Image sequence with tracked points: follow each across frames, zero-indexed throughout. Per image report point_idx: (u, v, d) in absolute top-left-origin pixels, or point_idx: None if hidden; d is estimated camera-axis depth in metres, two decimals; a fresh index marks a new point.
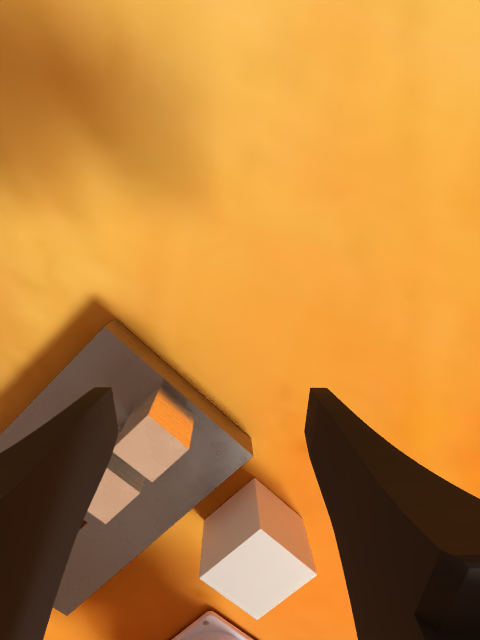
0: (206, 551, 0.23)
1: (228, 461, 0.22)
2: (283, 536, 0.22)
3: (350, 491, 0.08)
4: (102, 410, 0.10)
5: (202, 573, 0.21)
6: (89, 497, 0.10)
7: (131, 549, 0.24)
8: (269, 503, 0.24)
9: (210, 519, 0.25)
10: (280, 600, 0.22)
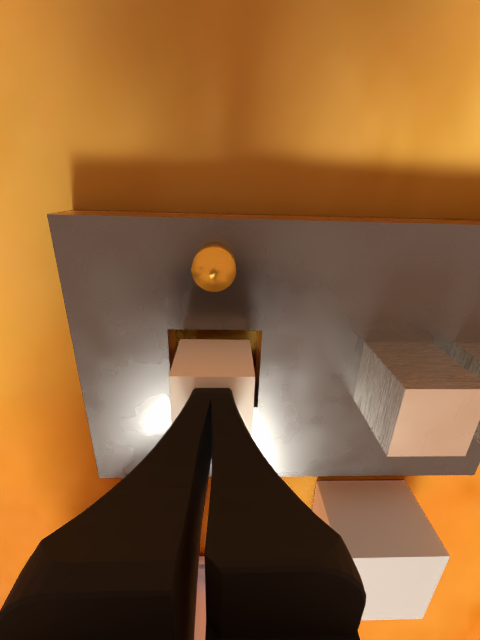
0: (341, 527, 0.17)
1: (452, 462, 0.17)
2: None
3: None
4: (210, 410, 0.11)
5: None
6: (204, 496, 0.10)
7: None
8: None
9: (331, 487, 0.20)
10: (366, 618, 0.18)
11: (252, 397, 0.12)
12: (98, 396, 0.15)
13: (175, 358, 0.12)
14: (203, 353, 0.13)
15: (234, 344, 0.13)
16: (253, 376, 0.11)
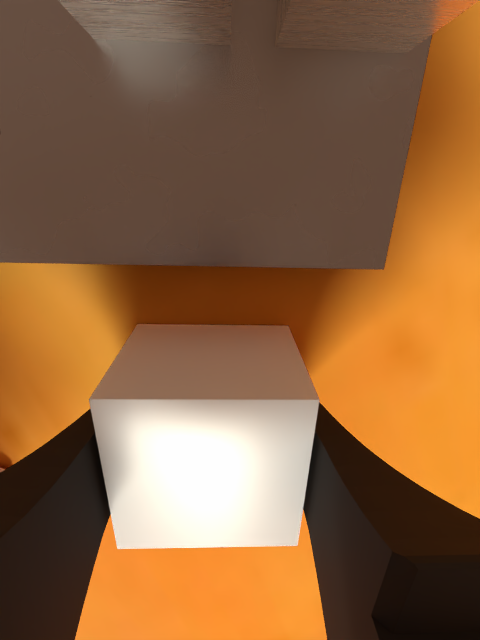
0: (131, 365, 0.09)
1: (337, 236, 0.09)
2: None
3: (321, 491, 0.08)
4: None
5: (103, 395, 0.08)
6: None
7: None
8: None
9: (156, 330, 0.11)
10: (193, 544, 0.10)
11: None
12: None
13: None
14: None
15: None
16: None
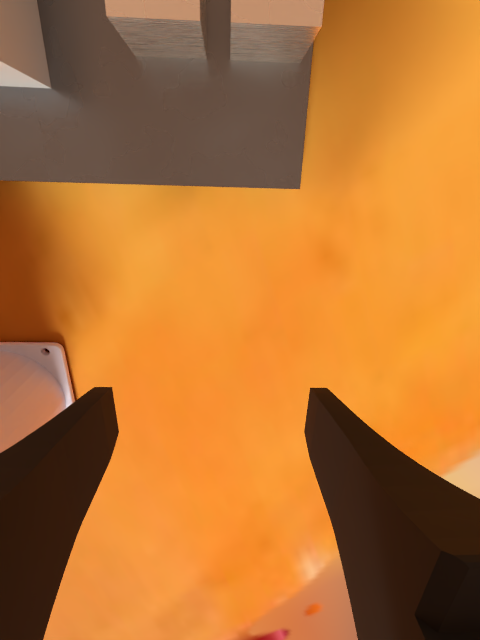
0: None
1: (271, 167, 0.15)
2: None
3: (350, 491, 0.08)
4: (102, 410, 0.10)
5: None
6: (89, 497, 0.10)
7: (53, 166, 0.15)
8: None
9: None
10: None
11: None
12: None
13: None
14: None
15: None
16: None
